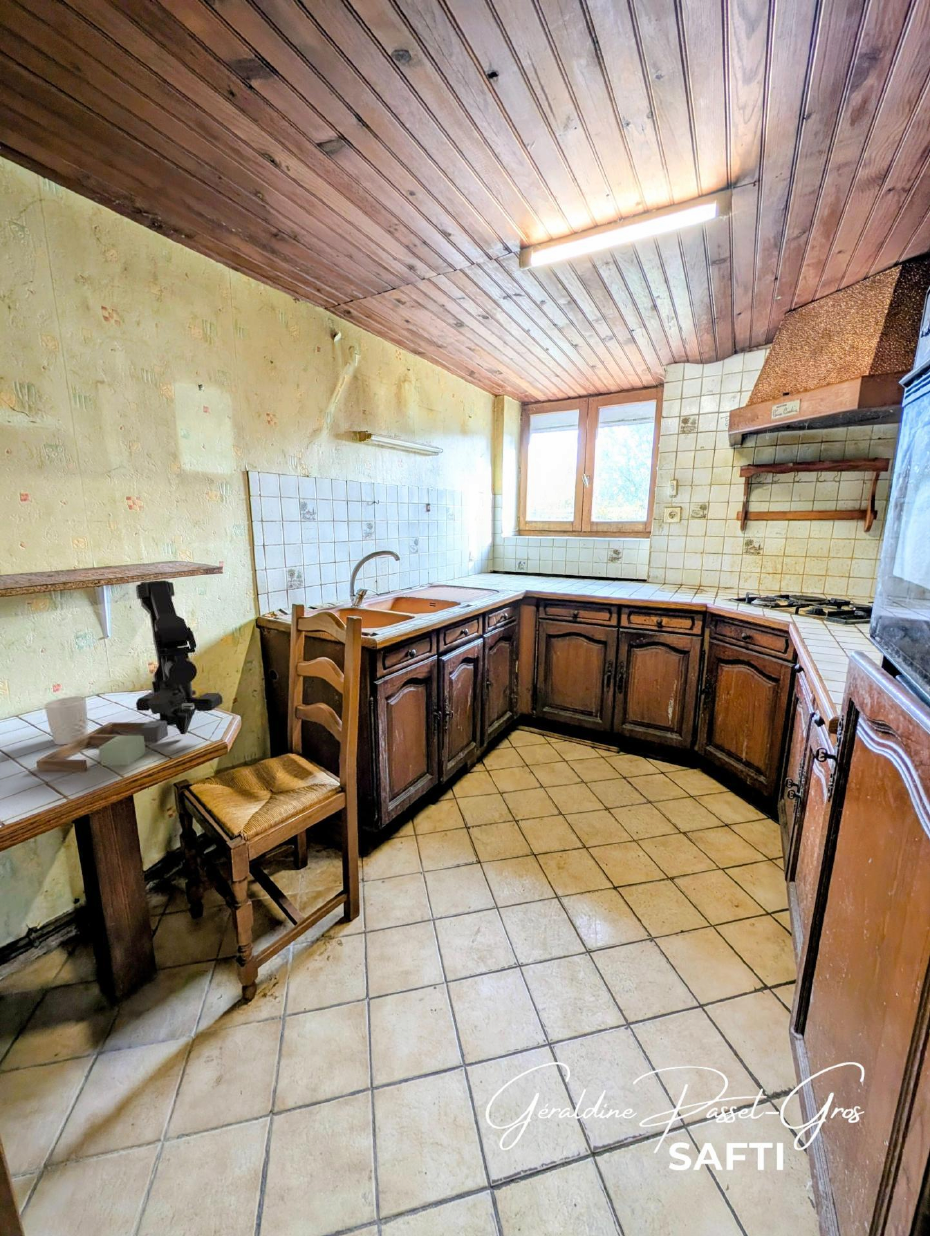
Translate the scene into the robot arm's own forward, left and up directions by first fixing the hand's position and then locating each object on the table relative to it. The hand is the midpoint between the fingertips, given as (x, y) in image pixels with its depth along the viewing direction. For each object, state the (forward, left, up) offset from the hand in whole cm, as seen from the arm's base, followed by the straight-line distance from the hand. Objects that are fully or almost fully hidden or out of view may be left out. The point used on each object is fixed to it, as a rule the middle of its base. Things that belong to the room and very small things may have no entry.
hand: (183, 733), depth 120 cm
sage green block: (+11, -8, -2) cm, 13 cm away
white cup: (+1, -29, -2) cm, 29 cm away
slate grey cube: (0, -8, -1) cm, 8 cm away
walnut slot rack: (+6, -17, -1) cm, 18 cm away
